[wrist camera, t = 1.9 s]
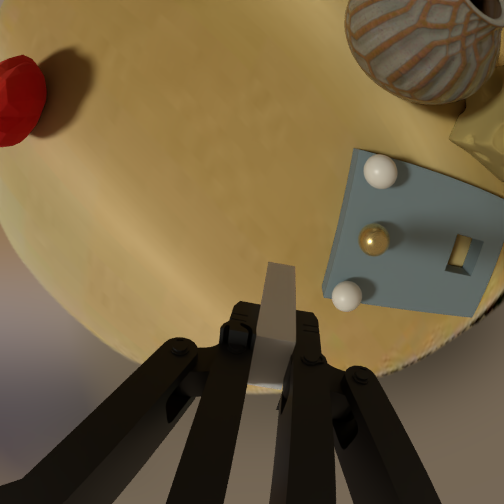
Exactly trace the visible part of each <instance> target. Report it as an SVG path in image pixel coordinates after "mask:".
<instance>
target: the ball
mask: <svg viewBox="0 0 504 504" xmlns="http://www.w3.org/2000/svg"><path fill="white" fill-rule="evenodd" d="M358 244H359V247H360V249H361V250H362V251H363V253H365V254H366V255H368V256H372V257H376V256H380V255H382V254H383V253H385V252H386V250H387V249H388V247H389V244H390V236H389V233H388V231H387V230H386V229H385V228H384V227H383V226H382V225H380V224H377V223H371V224H368V225H366V226H364V227H363V228H362V229H361V231H360V233H359V235H358Z"/></svg>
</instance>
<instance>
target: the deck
mask: <svg viewBox="0 0 504 504" xmlns="http://www.w3.org/2000/svg"><path fill="white" fill-rule="evenodd" d="M373 155H377V154H375V153H371V152H367V151H363V150H359V149H353V155H352V160H351V165H350V171H349V176H348V181H347V185H346V190H345V195H344V199H343V204H342V208H341V213H340V217H339V222H338V226H337V230H336V234H335V238H334V242H333V246H332V250H331V254H330V258H329V262H328V266H327V269H326V273H325V277H324V280H323V284H322V291H323V296H324V298H330V299H332V292H333V290H334V288H335V286H336V285H337V284H339V283H340V282H343V281H352V282H354V283H356V284H357V285H358V286H359V287H360V289H361V292H362V300H361V303H362V304H369V305H376V306H383V307H390V308H398V309H405V310H413V311H421V312H428V313H437V314H445V315H454V316H462V317H473V315H474V313H475V311H476V309H477V307H478V304H479V302H480V300H481V298H482V296H483V294H484V291H485V289H486V287H487V285H488V282H489V280H490V277H491V275H492V272H493V270H494V267H495V265H496V262H497V260H498V257H499V254H500V251H501V248H502V246H503V243H504V199H502V198H500V197H498V196H496V195H493V194H491V193H489V192H486V191H484V190H482V189H479V188H477V187H474V186H472V185H469V184H467V183H464V182H462V181H459V180H456V179H454V178H451V177H448V176H445V175H443V174H440V173H437V172H434V171H431V170H428V169H425V168H422V167H419V166H416V165H413V164H409V163H406V162H403V161H400V160H396V159H393V158H391V159H392V160H393V161H394V163H395V164H396V167H397V179H396V181H395V182H394V184H393V185H392V186H390V187H389V188H386V189H377V188H374V187H372V186H371V185H370V184H369V183H368V182H367V181H366V179H365V176H364V165H365V163H366V161H367V160H368V159H369V158H370V157H371V156H373ZM371 223H377V224H380V225H382V226H383V227H384V228H385V229H386V230H387V231H388V233H389V236H390V244H389V247H388V249H387V250H386V252H385V253H383V254H382V255H380V256H376V257H372V256H368V255H366V254H365V253H363V251H362V250H361V249H360V247H359V244H358V235H359V233H360V231H361V229H362V228H363V227H364V226H366V225H368V224H371ZM457 234H460V235H463V236H467V237H470V238H472V241H471V244H470V247H469V250H468V253H467V256H466V259H465V261H464V264H463V267H462V268H461V267H457V266H452V265H448V264H447V263H448V260H449V257H450V255H451V252H452V249H453V246H454V243H455V240H456V237H457Z"/></svg>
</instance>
